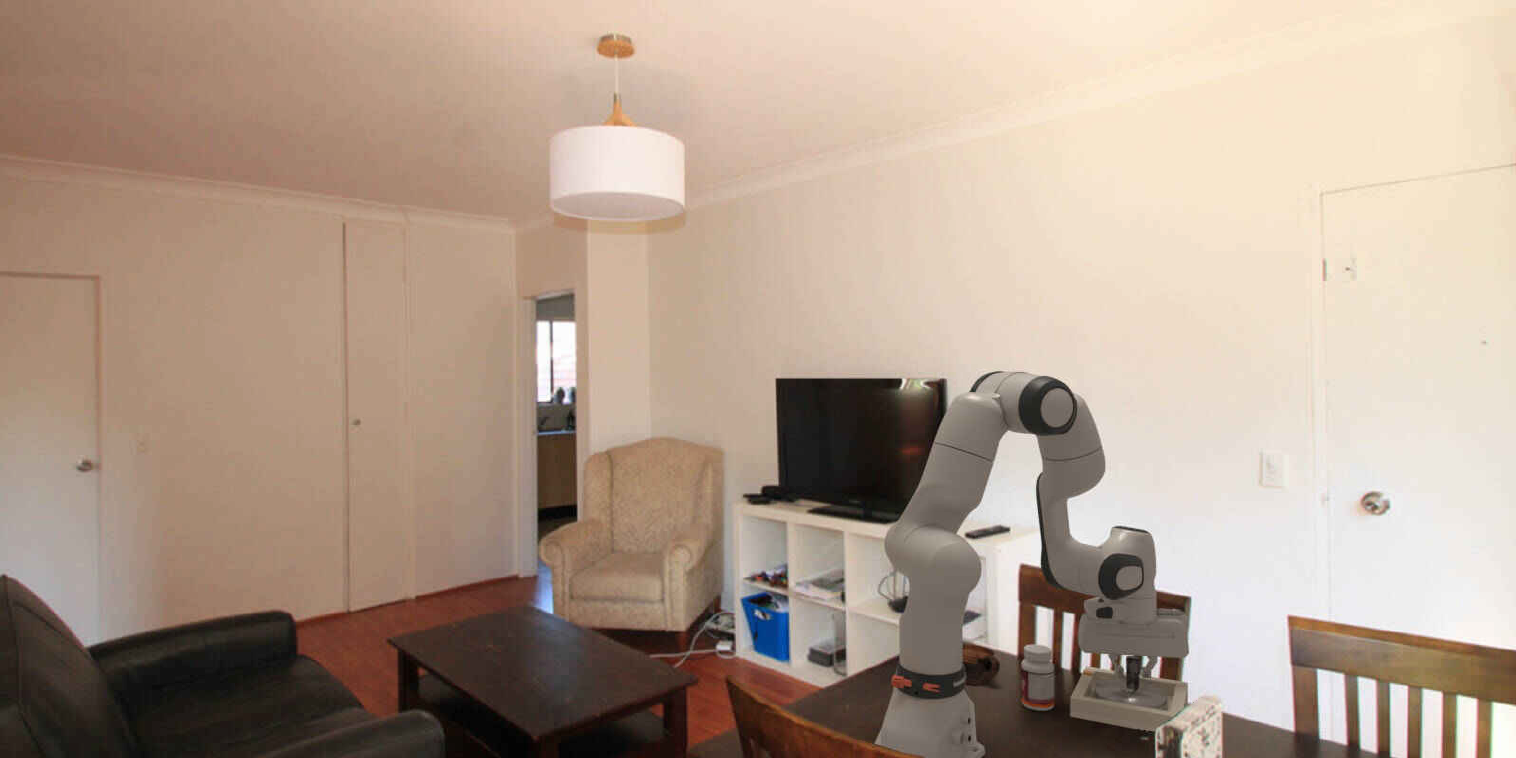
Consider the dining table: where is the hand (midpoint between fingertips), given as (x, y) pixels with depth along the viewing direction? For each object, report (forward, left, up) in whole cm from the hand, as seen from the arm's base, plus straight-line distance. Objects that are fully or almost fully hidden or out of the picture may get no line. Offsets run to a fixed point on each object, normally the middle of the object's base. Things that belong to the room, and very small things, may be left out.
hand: (1132, 676), depth 164 cm
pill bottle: (-11, +16, -5) cm, 20 cm away
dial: (-4, 0, -3) cm, 6 cm away
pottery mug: (-3, +30, -5) cm, 31 cm away
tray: (-4, 0, -5) cm, 7 cm away
